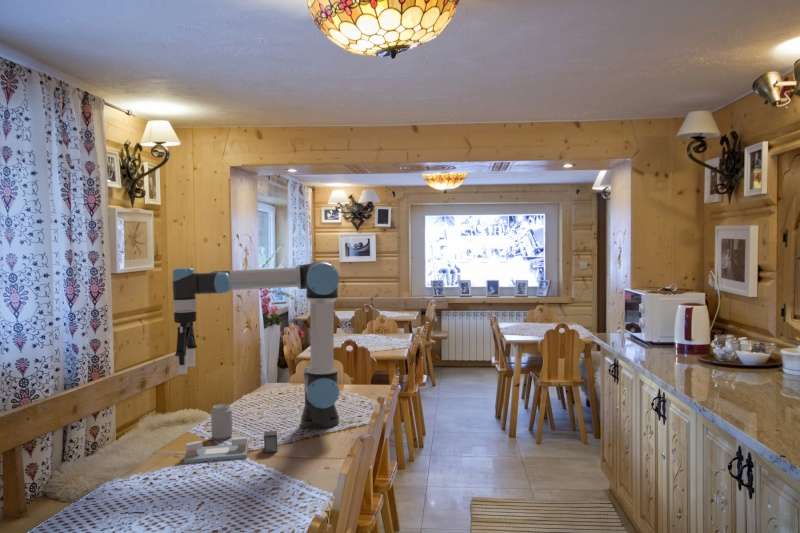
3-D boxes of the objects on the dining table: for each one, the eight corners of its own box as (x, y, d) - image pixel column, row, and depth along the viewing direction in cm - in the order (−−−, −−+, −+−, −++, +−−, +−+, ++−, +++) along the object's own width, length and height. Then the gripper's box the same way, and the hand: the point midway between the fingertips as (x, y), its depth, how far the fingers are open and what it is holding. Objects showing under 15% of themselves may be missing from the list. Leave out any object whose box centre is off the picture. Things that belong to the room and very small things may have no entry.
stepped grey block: (264, 447, 212) (264, 430, 212) (277, 446, 213) (276, 429, 213) (264, 454, 206) (263, 436, 205) (277, 452, 207) (276, 435, 206)
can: (226, 441, 220) (225, 408, 220) (207, 440, 222) (206, 407, 221) (236, 434, 228) (235, 403, 227) (218, 433, 229) (217, 402, 229)
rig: (248, 446, 214) (247, 432, 213) (246, 458, 202) (246, 443, 202) (188, 451, 210) (187, 437, 209) (183, 463, 198) (182, 448, 198)
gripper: (182, 308, 227) (184, 363, 228) (165, 315, 202) (167, 378, 203) (202, 307, 228) (204, 362, 229) (188, 314, 203) (190, 376, 204)
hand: (187, 370), depth 216 cm, fingers open, 13 cm apart
